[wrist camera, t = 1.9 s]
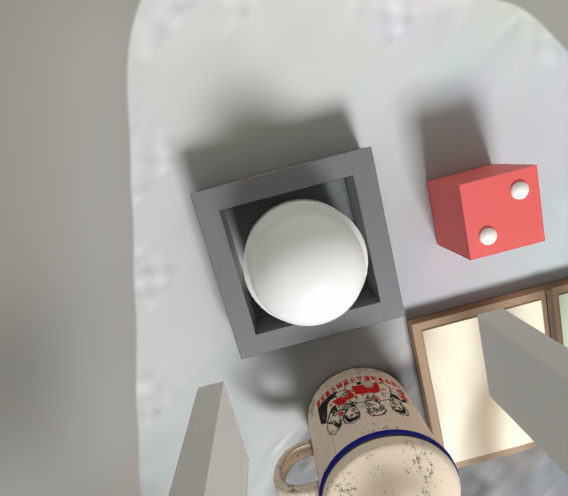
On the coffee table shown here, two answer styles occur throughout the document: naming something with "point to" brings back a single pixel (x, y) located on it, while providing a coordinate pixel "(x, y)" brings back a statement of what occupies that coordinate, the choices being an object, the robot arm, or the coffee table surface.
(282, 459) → the teacup with lid
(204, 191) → the button bezel
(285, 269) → the dome button
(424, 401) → the wooden picture frame
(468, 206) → the red die
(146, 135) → the coffee table surface
